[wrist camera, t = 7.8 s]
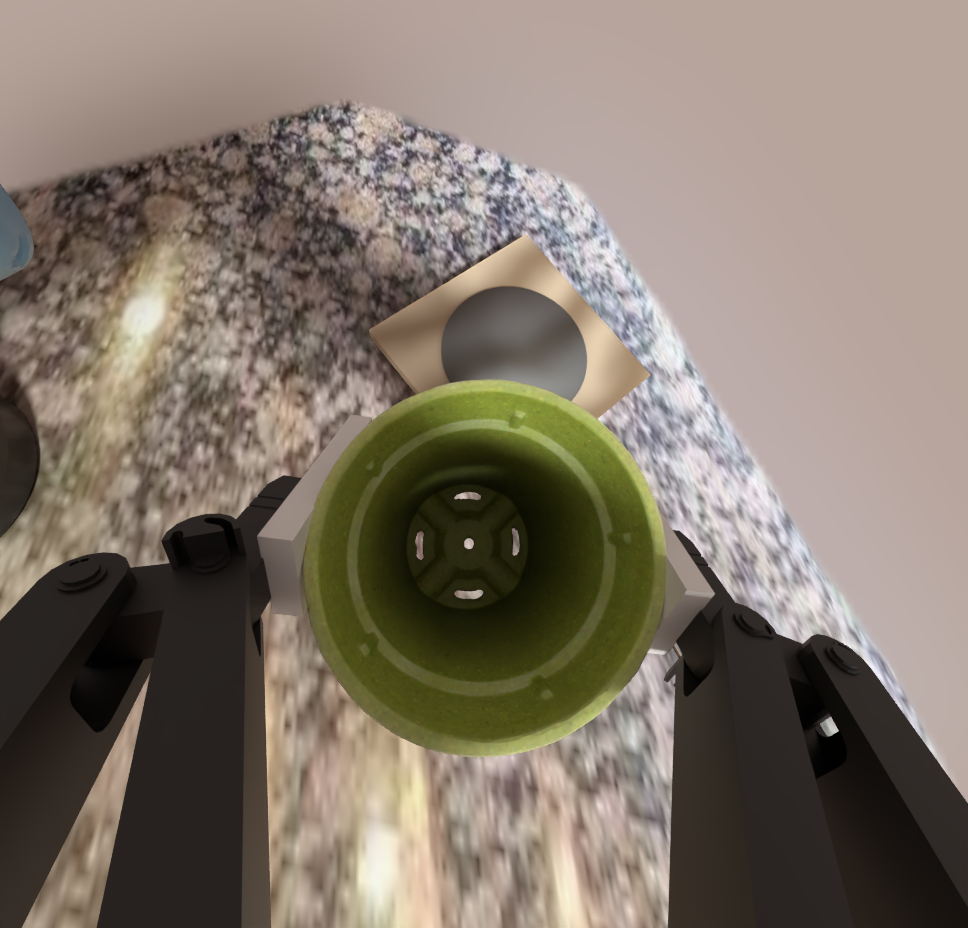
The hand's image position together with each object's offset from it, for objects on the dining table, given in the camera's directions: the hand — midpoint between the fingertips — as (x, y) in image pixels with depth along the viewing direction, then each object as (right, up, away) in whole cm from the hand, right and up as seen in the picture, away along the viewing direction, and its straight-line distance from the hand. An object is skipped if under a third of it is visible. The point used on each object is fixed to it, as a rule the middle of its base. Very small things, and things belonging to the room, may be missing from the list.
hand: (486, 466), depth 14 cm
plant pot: (-1, -4, +3) cm, 5 cm away
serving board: (+2, +10, +18) cm, 21 cm away
